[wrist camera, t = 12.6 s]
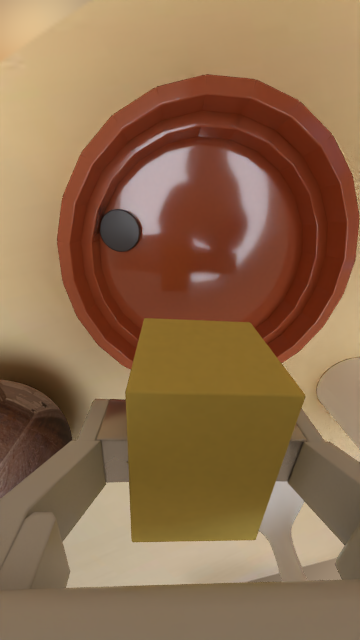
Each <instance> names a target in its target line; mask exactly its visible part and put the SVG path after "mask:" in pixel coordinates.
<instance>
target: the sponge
mask: <svg viewBox="0 0 360 640" xmlns="http://www.w3.org/2000/svg"><path fill="white" fill-rule="evenodd" d="M125 394H126V418H127V442H128V465H129V489H130V513H131V537H132V542H169V541H227V540H255V539H256V537H257V534H258V531H259V528H260V525H261V522H262V520H263V517H264V514H265V511H266V508H267V505H268V502H269V499H270V497H271V494H272V491H273V488H274V485H275V482H276V479H277V477H278V474H279V471H280V468H281V465H282V462H283V459H284V456H285V454H286V451H287V448H288V445H289V442H290V439H291V436H292V434H293V431H294V428H295V425H296V422H297V419H298V416H299V413H300V411H301V408H302V405H303V402H304V399H305V394H304V393H303V391H302V390H301V389H300V387H299V386H298V385H297V383H296V382H295V381H294V380H293V378H292V377H291V376H290V374H289V373H288V372H287V370H286V369H285V368H284V366H283V365H282V364H281V362H280V361H279V360H278V358H277V357H276V356H275V354H274V353H273V352H272V350H271V349H270V348H269V346H268V345H267V344H266V343H265V341H264V340H263V339H262V337H261V336H260V335H259V333H258V332H257V331H256V329H255V328H254V327H253V325H252V324H251V323H250V322H229V321H204V320H178V319H153V318H144V321H143V325H142V329H141V333H140V337H139V341H138V344H137V348H136V352H135V356H134V360H133V364H132V368H131V372H130V376H129V380H128V384H127V388H126V392H125Z"/></svg>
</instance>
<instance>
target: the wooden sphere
mask: <svg viewBox="0 0 360 640" xmlns="http://www.w3.org/2000/svg"><path fill="white" fill-rule="evenodd" d="M71 440H72V435H71V431H70V428H69V425H68V423H67V420H66V418H65V417H64V415H63V413H62V412H61V410H60V409H59V408H58V406H57V405H56V404H55V403H54V402H53V401H52V400H51V399H50V398H49V397H47V396H46V395H45V394H43V393H42V392H40V391H38V390H36V389H34V388H32V387H30V386H27V385H24V384H21V383H18V382H13V381H7V380H0V499H1V498H2V497H3V496H4V495H6V494H7V493H8V492H9V491H11V490H12V489H13V488H14V487H15V486H17V485H18V484H19V483H20V482H22V481H23V480H24V479H25V478H26V477H28V476H29V475H30V474H31V473H32V472H34V471H35V470H36V469H37V468H39V467H40V466H41V465H42V464H43V463H45V462H46V461H47V460H48V459H50V458H51V457H52V456H53V455H54V454H56V453H57V452H58V451H59V450H61V449H62V448H63V447H64V446H65V445H67V444H68V443H69V442H70V441H71Z"/></svg>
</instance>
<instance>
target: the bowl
mask: <svg viewBox="0 0 360 640" xmlns="http://www.w3.org/2000/svg"><path fill="white" fill-rule="evenodd" d="M114 209H122V210H126V211H129V212H130V213H132V214H133V215H134V216H135V217H136V218H137V220H138V221H139V223H140V226H141V237H140V240H139V242H138V244H137V245H136V246H135V247H133V248H132V249H131V250H129V251H125V252H118V251H115V250H112V249H111V248H109V247H108V246H107V245H106V244H105V243H104V242H103V240H102V238H101V235H100V231H99V226H100V222H101V219H102V217H103V216H104V215H105V214H106V213H107V212H108V211H110V210H114ZM358 228H359V211H358V205H357V199H356V193H355V187H354V181H353V176H352V173H351V171H350V169H349V167H348V165H347V163H346V161H345V159H344V157H343V155H342V153H341V151H340V149H339V146H338V144H337V142H336V140H335V138H334V136H333V135H332V134H331V132H330V131H329V130H328V129H327V128H326V127H325V126H324V125H323V124H322V123H321V122H320V121H319V120H318V119H317V118H316V117H315V116H314V115H313V114H312V113H311V112H310V111H309V110H308V109H307V108H306V107H305V106H304V105H303V104H302V103H301V102H299V100H297V99H295V98H293V97H291V96H289V95H287V94H285V93H283V92H281V91H279V90H277V89H275V88H273V87H271V86H269V85H267V84H264V83H262V82H260V81H258V80H255V79H248V78H238V77H228V76H218V75H209V74H207V75H206V76H205V75H201V76H197V77H193V78H189V79H185V80H181V81H177V82H173V83H169V84H165V85H161V86H157V87H156V88H153V89H152V90H150V91H148V92H147V93H145V94H144V95H142V96H141V97H139V98H138V99H136V100H135V101H133V102H131V103H130V104H128V105H127V106H125V107H124V108H122V109H121V110H119V111H118V112H116V113H115V114H114V115H112V116H111V117H110V118H109V119H108V121H107V122H106V123H105V124H104V125H103V127H102V128H101V129H100V130H99V132H98V133H97V134H96V135H95V136H94V138H93V139H92V140H91V141H90V142H89V144H88V145H87V146H86V147H85V149H84V150H83V151H82V152H81V154H80V156H79V159H78V161H77V163H76V166H75V168H74V171H73V173H72V175H71V178H70V180H69V183H68V185H67V187H66V190H65V192H64V194H63V198H62V204H61V212H60V220H59V228H58V236H57V241H58V242H57V245H58V253H59V260H60V267H61V274H62V281H63V284H64V287H65V289H66V291H67V294H68V296H69V299H70V301H71V303H72V306H73V308H74V311H75V313H76V315H77V317H78V319H79V320H80V321H81V323H82V324H83V325H84V327H85V328H86V330H87V331H88V332H89V334H90V335H91V336H92V338H93V339H94V340H95V342H96V343H97V344H98V345H99V346H100V347H101V348H102V349H103V350H105V351H106V352H107V353H108V354H110V355H111V356H112V357H113V358H114V359H116V360H117V361H118V362H119V363H120V364H122V365H124V366H125V367H127V368H129V369H131V368H132V364H133V360H134V356H135V352H136V348H137V344H138V341H139V337H140V333H141V329H142V325H143V321H144V318H153V319H178V320H204V321H229V322H250V323H251V324H252V325H253V327H254V328H255V329H256V331H257V332H258V333H259V335H260V336H261V337H262V339H263V340H264V341H265V343H266V344H267V345H268V346H269V348H270V349H271V350H272V352H273V353H274V354H275V356H276V357H277V358H278V360H279V361H280V362H281V363H283V362H284V361H286V360H287V359H289V358H290V357H292V356H293V355H295V354H296V353H298V352H299V351H300V350H301V349H302V348H303V347H304V346H305V345H306V344H307V343H308V342H309V341H310V340H311V339H312V338H313V337H314V336H315V335H316V334H317V333H318V332H319V331H320V329H321V328H322V327H323V326H324V325H325V323H326V321H327V320H328V318H329V317H330V315H331V313H332V312H333V310H334V309H335V307H336V305H337V304H338V302H339V301H340V299H341V297H342V295H343V294H344V291H345V288H346V285H347V282H348V279H349V277H350V274H351V271H352V268H353V265H354V262H355V258H356V249H357V238H358Z"/></svg>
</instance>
